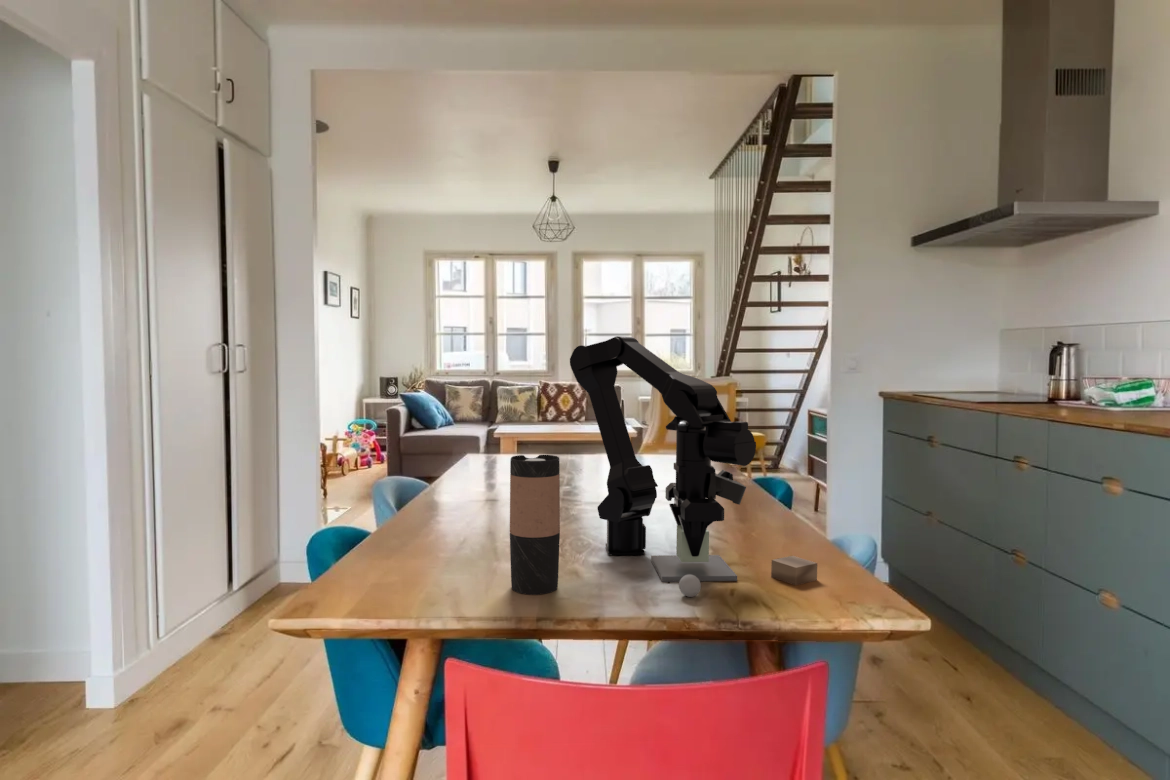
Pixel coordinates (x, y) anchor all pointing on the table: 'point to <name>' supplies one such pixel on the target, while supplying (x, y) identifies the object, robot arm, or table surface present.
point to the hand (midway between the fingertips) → (692, 552)
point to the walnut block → (794, 570)
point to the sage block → (684, 550)
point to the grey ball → (689, 585)
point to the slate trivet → (692, 569)
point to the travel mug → (534, 523)
